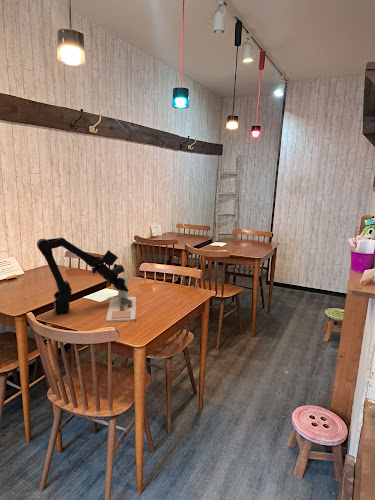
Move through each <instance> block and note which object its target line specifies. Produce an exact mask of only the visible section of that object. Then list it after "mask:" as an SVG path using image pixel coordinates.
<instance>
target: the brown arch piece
mask: <svg viewBox="0 0 375 500" xmlns="http://www.w3.org/2000/svg"><path fill="white" fill-rule="evenodd" d="M125 301H126V302H125ZM127 304H128V307H129V308H130V307H132V301H131V300H129V299H126V298H124V297H123V298H121V304H120V311H124V305H127Z"/></svg>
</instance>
